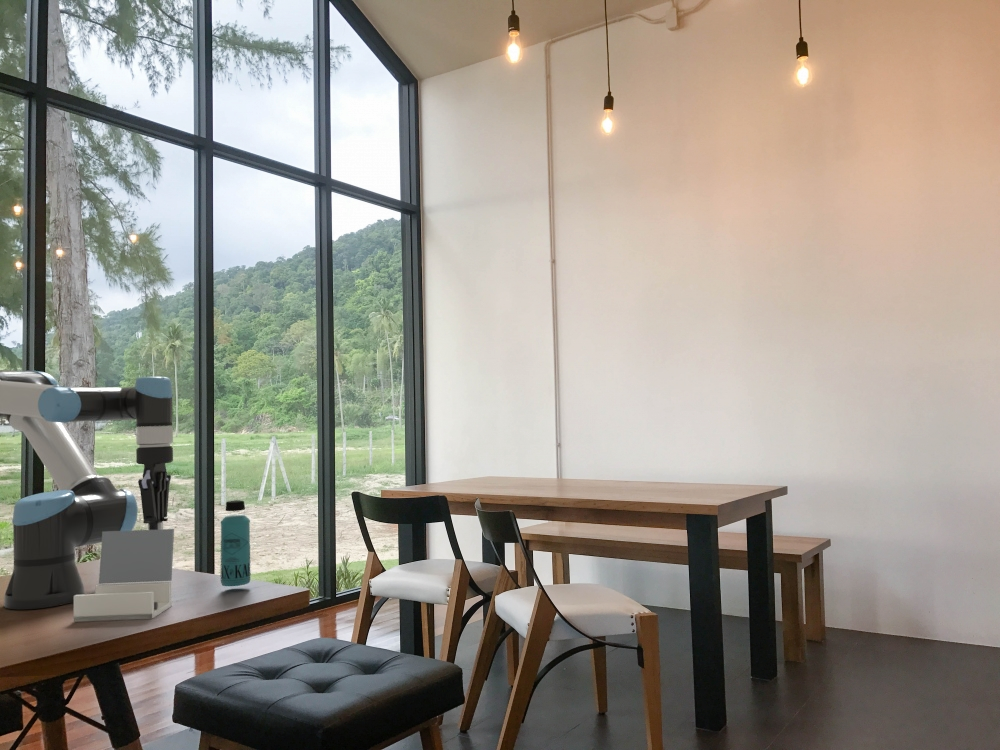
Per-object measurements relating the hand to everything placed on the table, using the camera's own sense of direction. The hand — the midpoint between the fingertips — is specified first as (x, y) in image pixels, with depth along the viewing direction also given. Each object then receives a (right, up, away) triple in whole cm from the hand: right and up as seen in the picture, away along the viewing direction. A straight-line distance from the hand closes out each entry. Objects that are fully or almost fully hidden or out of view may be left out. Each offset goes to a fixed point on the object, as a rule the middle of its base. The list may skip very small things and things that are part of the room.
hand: (156, 552), depth 176 cm
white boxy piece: (+1, -9, -17) cm, 19 cm away
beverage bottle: (+17, -9, +2) cm, 20 cm away
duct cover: (0, +1, -10) cm, 11 cm away
